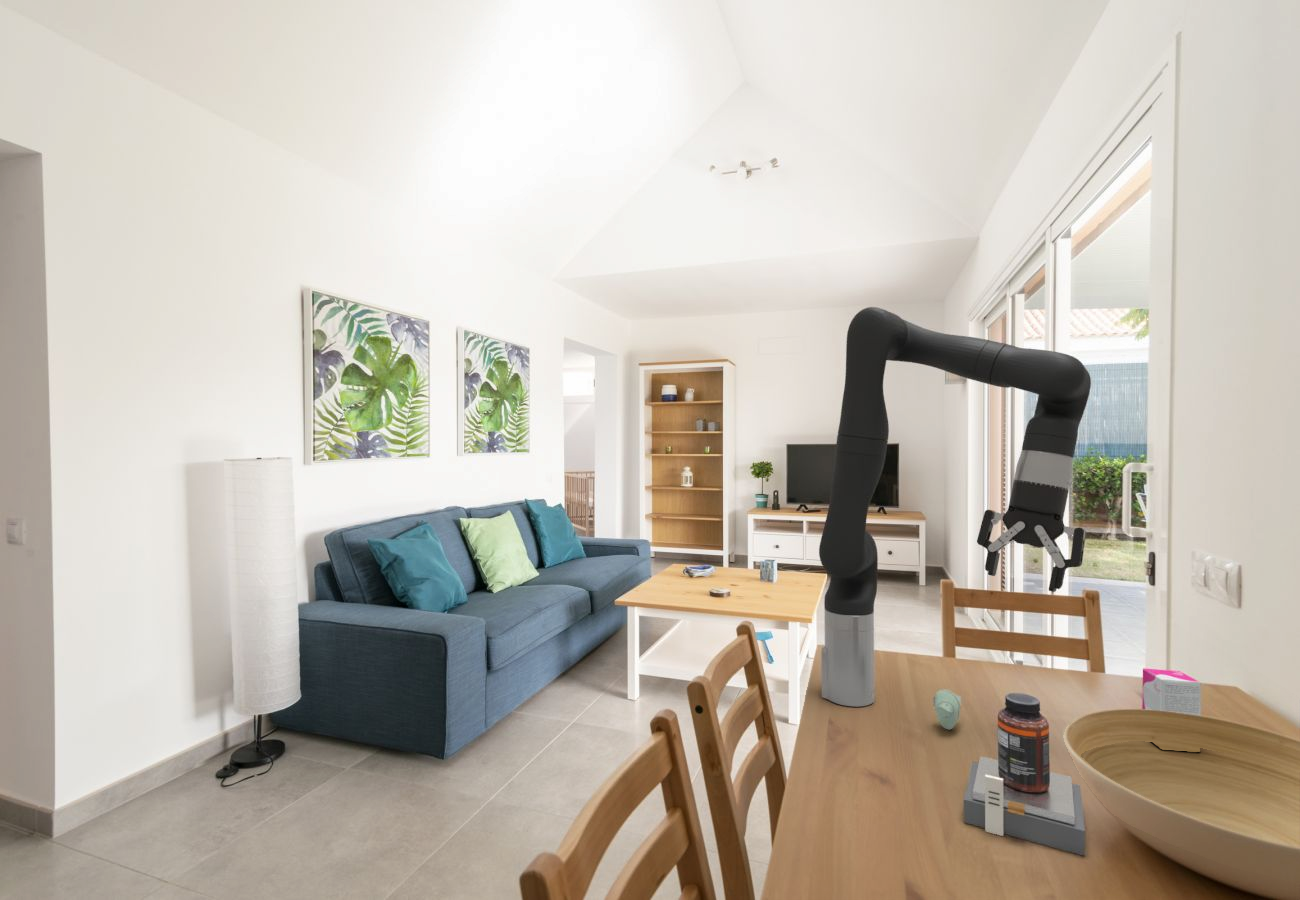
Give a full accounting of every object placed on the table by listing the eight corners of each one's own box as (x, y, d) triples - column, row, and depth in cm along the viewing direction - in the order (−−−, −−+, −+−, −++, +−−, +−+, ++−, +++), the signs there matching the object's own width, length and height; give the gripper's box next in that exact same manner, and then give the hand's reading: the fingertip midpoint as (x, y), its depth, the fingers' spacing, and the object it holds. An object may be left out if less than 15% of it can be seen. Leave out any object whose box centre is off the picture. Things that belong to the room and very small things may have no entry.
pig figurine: (952, 740, 105) (952, 700, 105) (927, 733, 108) (926, 694, 108) (965, 724, 111) (965, 686, 111) (941, 718, 114) (941, 680, 114)
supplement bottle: (1043, 775, 86) (1043, 692, 86) (1055, 798, 80) (1055, 709, 80) (994, 768, 88) (993, 687, 88) (1002, 790, 82) (1002, 703, 82)
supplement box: (1202, 754, 100) (1202, 682, 100) (1160, 750, 102) (1160, 679, 102) (1180, 737, 106) (1179, 669, 106) (1140, 734, 107) (1139, 667, 107)
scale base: (963, 825, 82) (963, 771, 82) (972, 781, 92) (972, 733, 92) (1085, 859, 75) (1085, 800, 75) (1080, 807, 86) (1079, 755, 86)
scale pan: (971, 804, 81) (971, 796, 81) (980, 763, 91) (980, 756, 91) (1075, 831, 75) (1075, 823, 75) (1071, 784, 86) (1071, 776, 86)
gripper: (986, 472, 102) (966, 571, 102) (1092, 489, 92) (1070, 598, 92) (997, 476, 107) (979, 570, 107) (1098, 492, 98) (1077, 595, 98)
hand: (1021, 583), depth 100 cm, fingers open, 8 cm apart
